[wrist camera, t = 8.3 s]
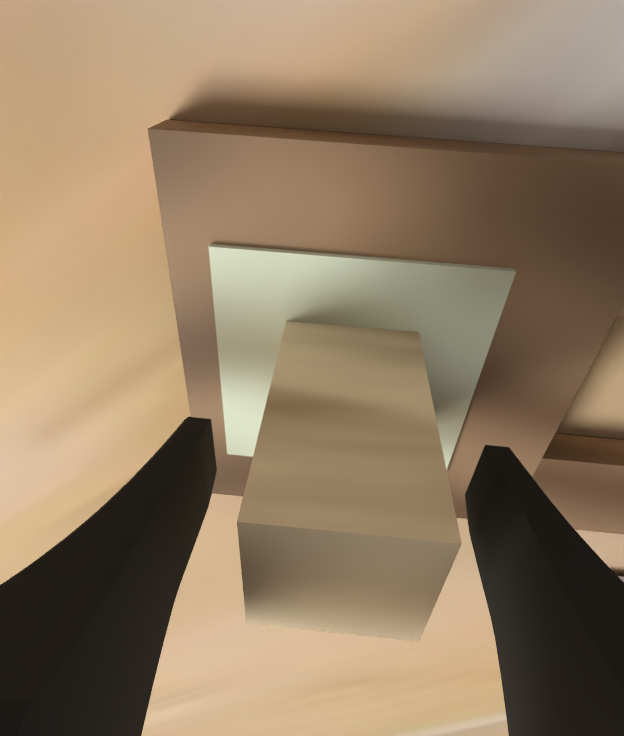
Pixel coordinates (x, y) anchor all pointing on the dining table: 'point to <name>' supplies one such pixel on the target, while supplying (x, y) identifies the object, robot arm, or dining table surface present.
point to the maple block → (347, 488)
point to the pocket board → (402, 283)
